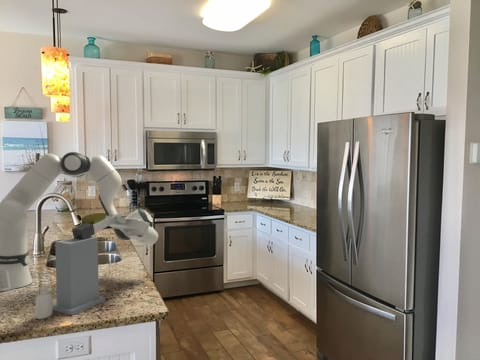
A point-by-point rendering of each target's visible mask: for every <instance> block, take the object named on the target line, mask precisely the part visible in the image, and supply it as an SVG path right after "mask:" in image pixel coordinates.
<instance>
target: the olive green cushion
mask: <svg viewBox="0 0 480 360" xmlns="http://www.w3.org/2000/svg"><path fill="white" fill-rule="evenodd" d="M106 216H107V215H106V213H105V212H95V213H90V214H86V215H85V216H82V217H81V218H80V219H82V224H84V223H85V224H95V223H97V222H100V221H102V220H104V219H105V217H106ZM82 224H81V225H82Z"/></svg>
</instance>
